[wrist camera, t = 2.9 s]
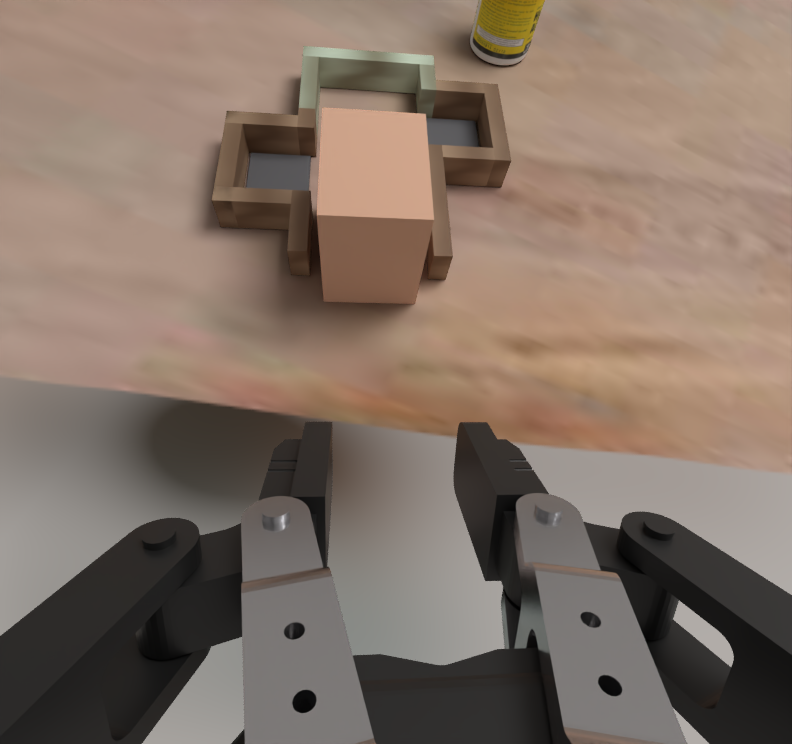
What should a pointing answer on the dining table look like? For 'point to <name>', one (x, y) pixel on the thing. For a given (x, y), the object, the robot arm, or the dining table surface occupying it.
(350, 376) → the dining table surface
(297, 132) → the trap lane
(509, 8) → the supplement bottle
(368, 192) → the brick
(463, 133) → the mats
